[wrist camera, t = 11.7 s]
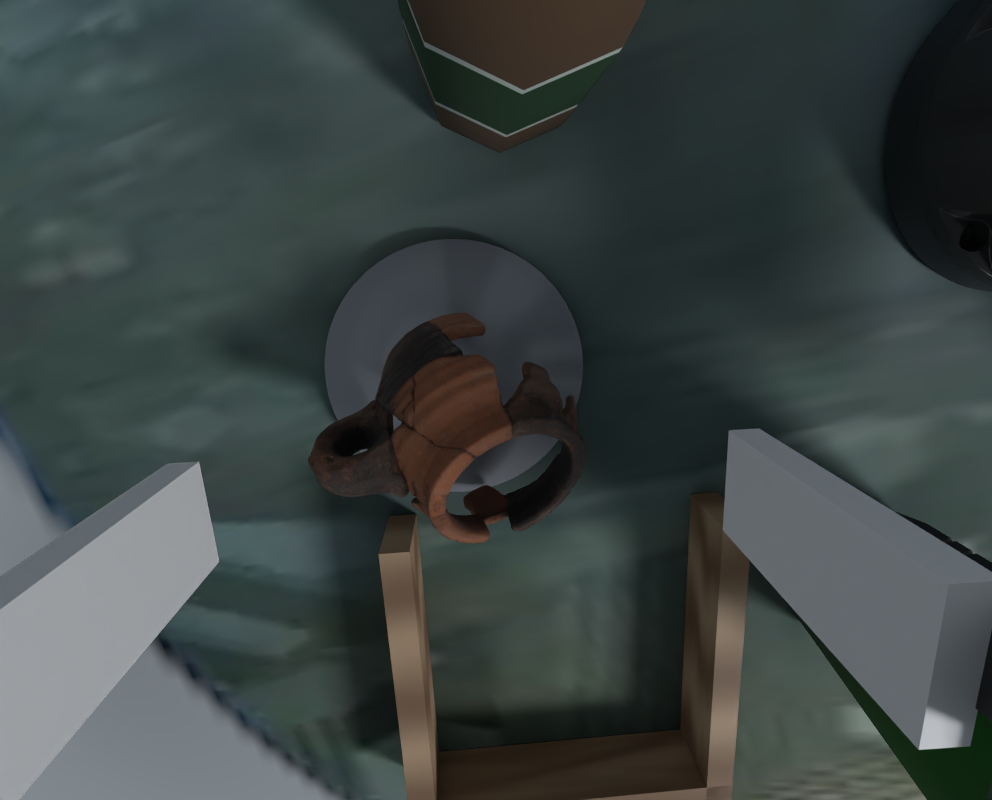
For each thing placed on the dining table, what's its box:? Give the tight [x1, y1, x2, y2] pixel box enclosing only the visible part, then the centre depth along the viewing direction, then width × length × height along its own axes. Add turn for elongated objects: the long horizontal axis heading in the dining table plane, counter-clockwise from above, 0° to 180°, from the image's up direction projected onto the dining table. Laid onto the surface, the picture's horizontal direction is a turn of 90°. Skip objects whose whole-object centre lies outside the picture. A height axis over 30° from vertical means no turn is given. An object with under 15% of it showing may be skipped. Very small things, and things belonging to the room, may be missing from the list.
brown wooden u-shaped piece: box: [378, 492, 750, 800], centre depth 31 cm, size 18×18×4 cm
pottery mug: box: [308, 313, 585, 543], centre depth 26 cm, size 12×9×8 cm
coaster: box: [324, 239, 583, 492], centre depth 28 cm, size 13×13×1 cm
